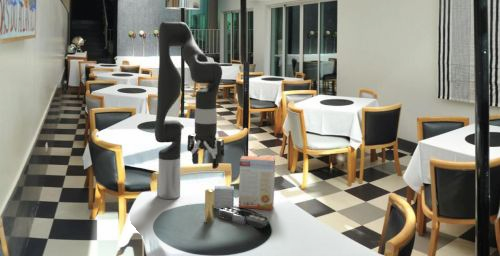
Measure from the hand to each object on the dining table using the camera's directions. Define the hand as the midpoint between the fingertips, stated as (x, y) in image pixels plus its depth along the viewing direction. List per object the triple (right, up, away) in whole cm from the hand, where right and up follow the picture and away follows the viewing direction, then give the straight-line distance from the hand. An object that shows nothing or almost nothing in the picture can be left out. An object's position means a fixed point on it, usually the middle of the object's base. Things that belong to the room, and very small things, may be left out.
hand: (205, 165), depth 158 cm
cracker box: (+18, -20, +29) cm, 40 cm away
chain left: (+8, -21, +17) cm, 28 cm away
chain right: (+18, -23, +11) cm, 31 cm away
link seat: (+13, -22, +14) cm, 29 cm away
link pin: (0, -22, +12) cm, 25 cm away
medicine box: (+5, -20, +27) cm, 34 cm away
